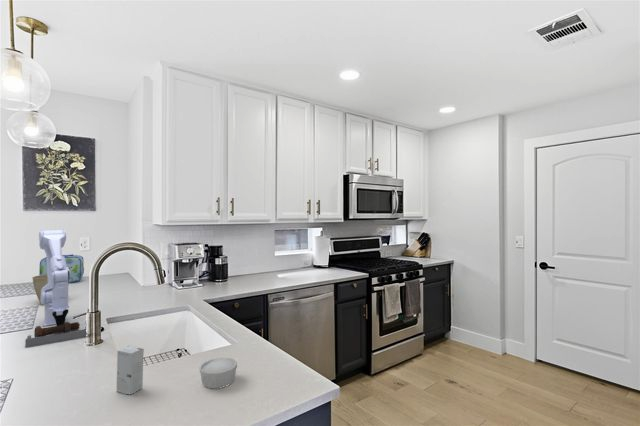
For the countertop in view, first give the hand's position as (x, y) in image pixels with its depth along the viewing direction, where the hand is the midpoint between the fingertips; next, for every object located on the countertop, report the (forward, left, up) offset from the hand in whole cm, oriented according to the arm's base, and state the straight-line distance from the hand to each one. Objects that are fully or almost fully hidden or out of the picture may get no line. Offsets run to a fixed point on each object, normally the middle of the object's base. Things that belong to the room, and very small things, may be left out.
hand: (60, 327), depth 150 cm
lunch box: (-128, -5, -2) cm, 128 cm away
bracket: (+13, 0, -1) cm, 13 cm away
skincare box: (+75, +20, -1) cm, 78 cm away
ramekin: (+85, +43, -2) cm, 96 cm away
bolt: (+6, -1, -2) cm, 6 cm away
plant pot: (-60, -8, -1) cm, 60 cm away
